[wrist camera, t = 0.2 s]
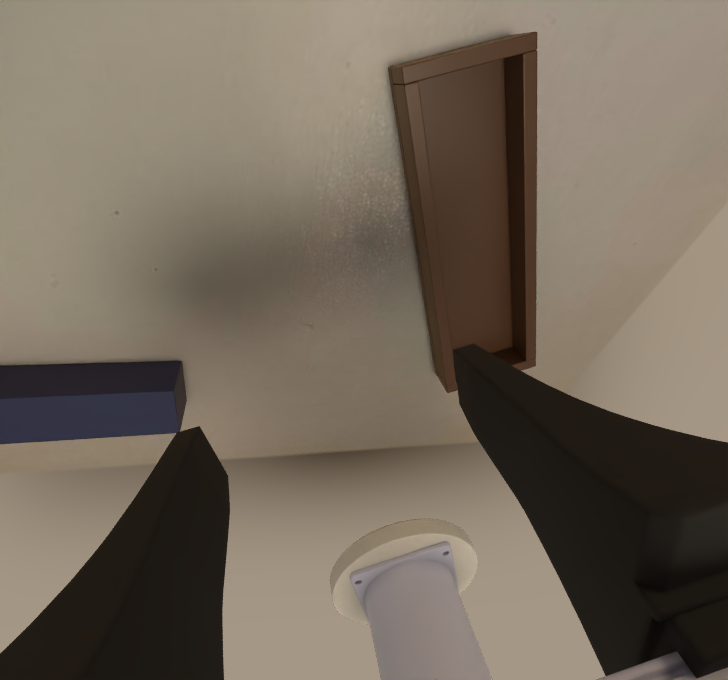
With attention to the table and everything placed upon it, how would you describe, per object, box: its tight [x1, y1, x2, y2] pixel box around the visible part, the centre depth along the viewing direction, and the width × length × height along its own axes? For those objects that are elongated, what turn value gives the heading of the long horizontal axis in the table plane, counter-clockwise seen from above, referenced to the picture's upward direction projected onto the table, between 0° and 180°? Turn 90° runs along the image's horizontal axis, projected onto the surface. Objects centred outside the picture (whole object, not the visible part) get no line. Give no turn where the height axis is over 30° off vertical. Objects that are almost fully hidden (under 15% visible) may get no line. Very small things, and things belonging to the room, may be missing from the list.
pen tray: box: [388, 32, 537, 393], centre depth 22 cm, size 16×5×2 cm, turn 12°
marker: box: [0, 361, 186, 444], centre depth 21 cm, size 12×3×3 cm, turn 84°
